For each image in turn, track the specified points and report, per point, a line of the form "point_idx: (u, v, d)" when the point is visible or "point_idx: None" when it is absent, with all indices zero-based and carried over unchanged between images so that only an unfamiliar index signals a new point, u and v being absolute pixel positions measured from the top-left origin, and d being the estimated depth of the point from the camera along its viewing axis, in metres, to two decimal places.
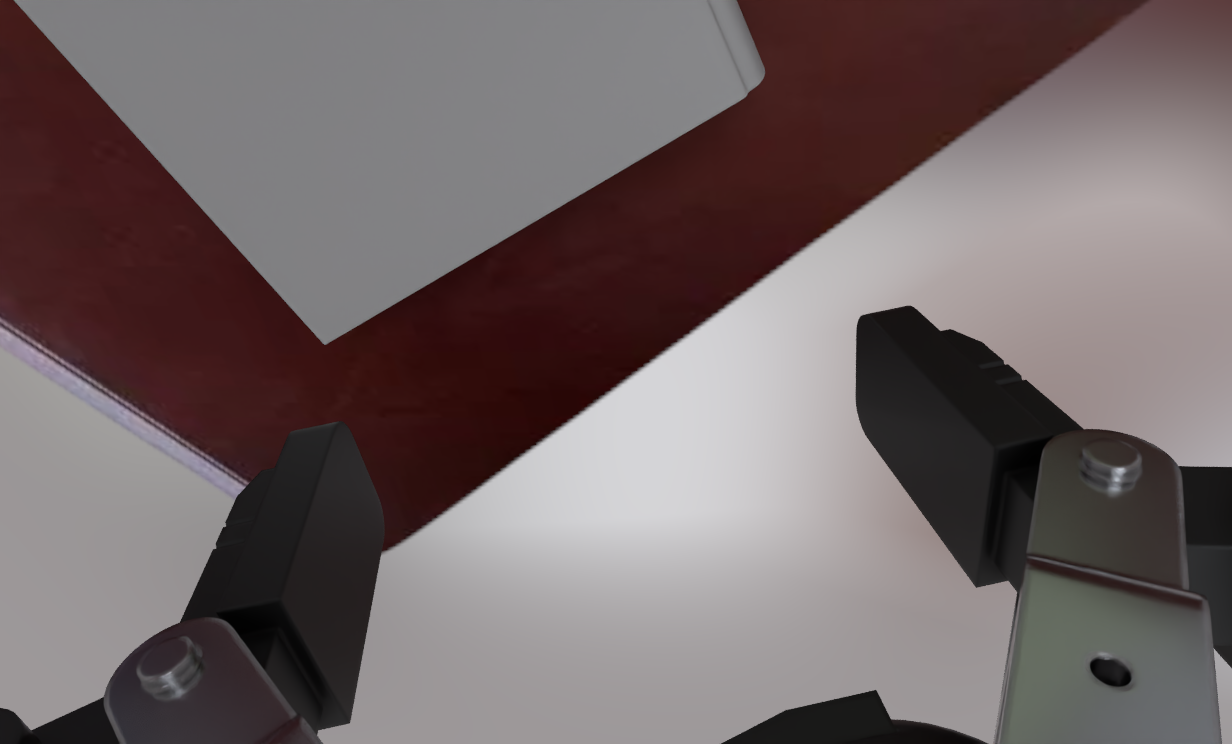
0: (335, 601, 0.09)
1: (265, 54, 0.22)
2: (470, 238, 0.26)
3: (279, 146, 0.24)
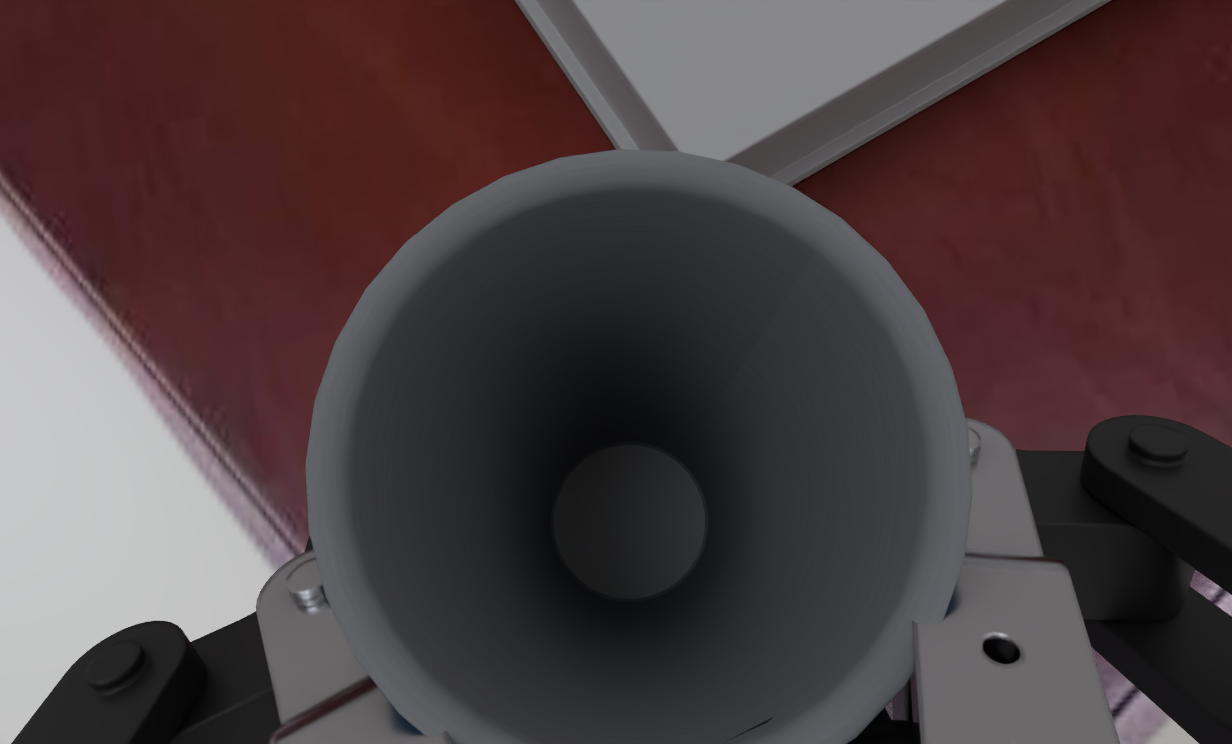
0: None
1: None
2: None
3: None
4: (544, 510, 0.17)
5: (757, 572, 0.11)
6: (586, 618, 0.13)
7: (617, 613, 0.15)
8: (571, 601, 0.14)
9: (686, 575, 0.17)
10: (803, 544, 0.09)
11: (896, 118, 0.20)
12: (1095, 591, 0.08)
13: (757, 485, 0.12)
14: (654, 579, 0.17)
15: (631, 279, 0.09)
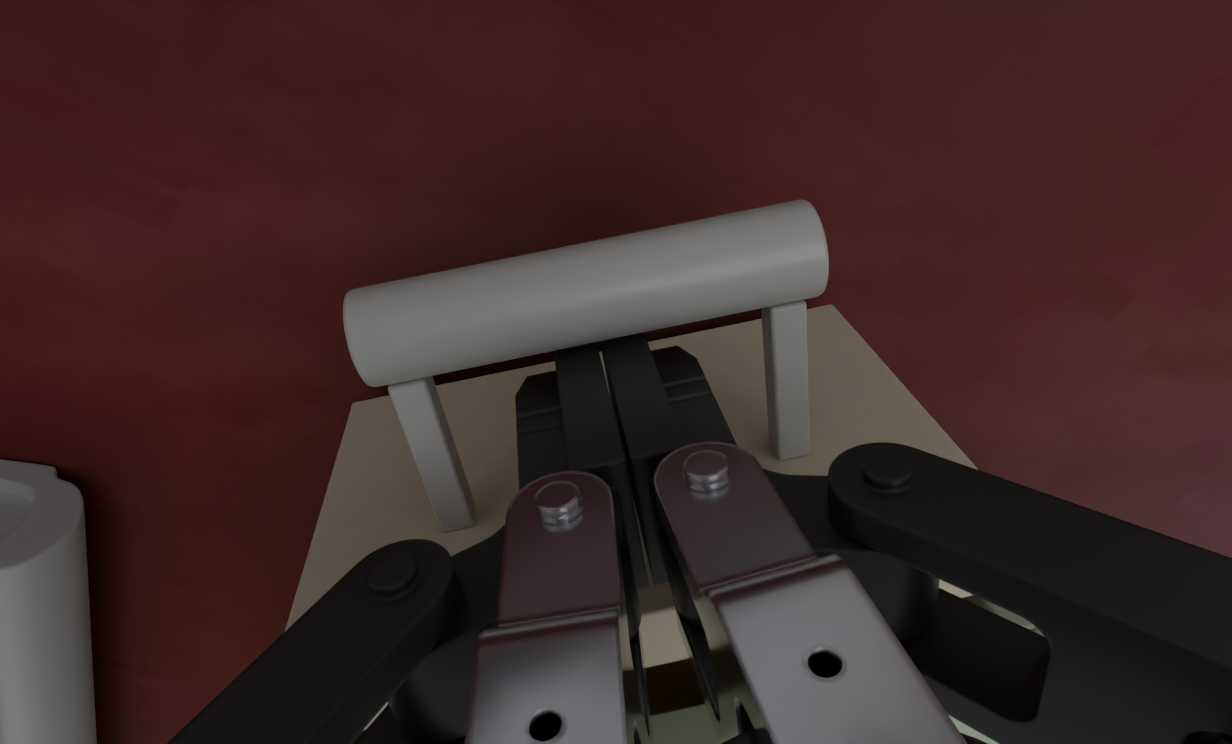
0: None
1: None
2: None
3: None
4: None
5: None
6: None
7: None
8: None
9: None
10: None
11: None
12: None
13: None
14: None
15: None
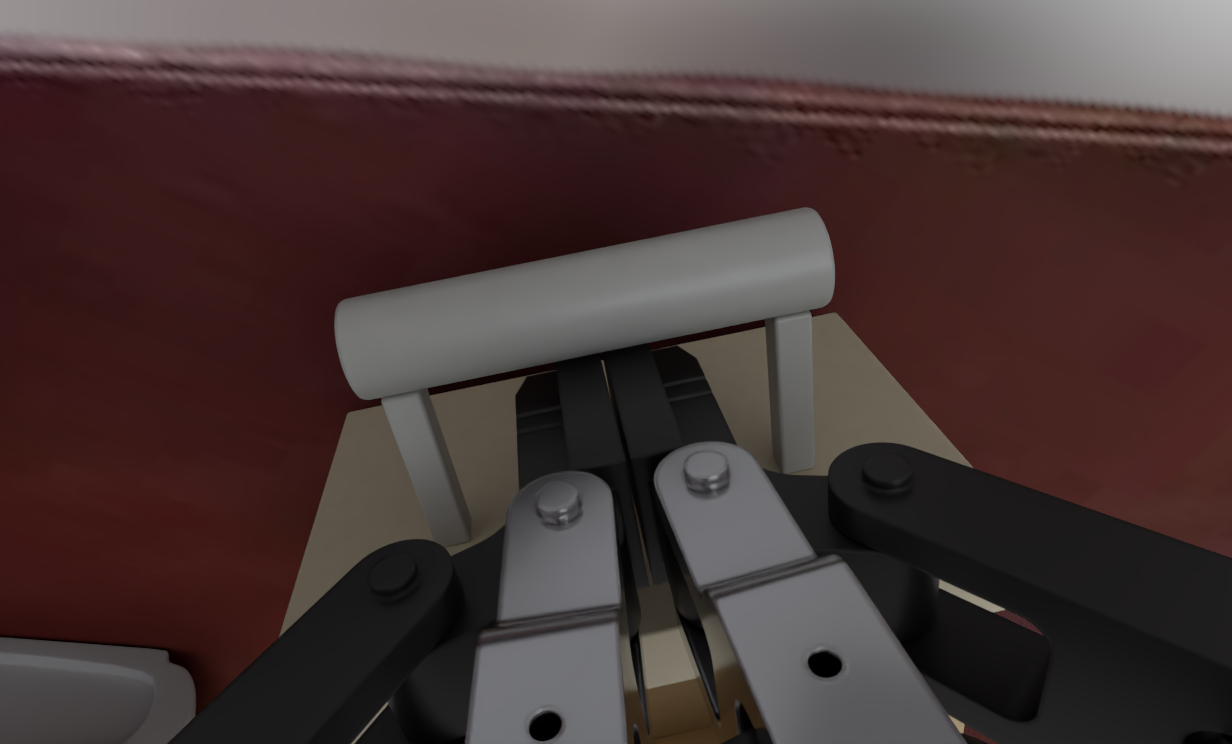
0: None
1: None
2: None
3: None
4: None
5: None
6: None
7: None
8: None
9: None
10: None
11: None
12: None
13: None
14: None
15: None
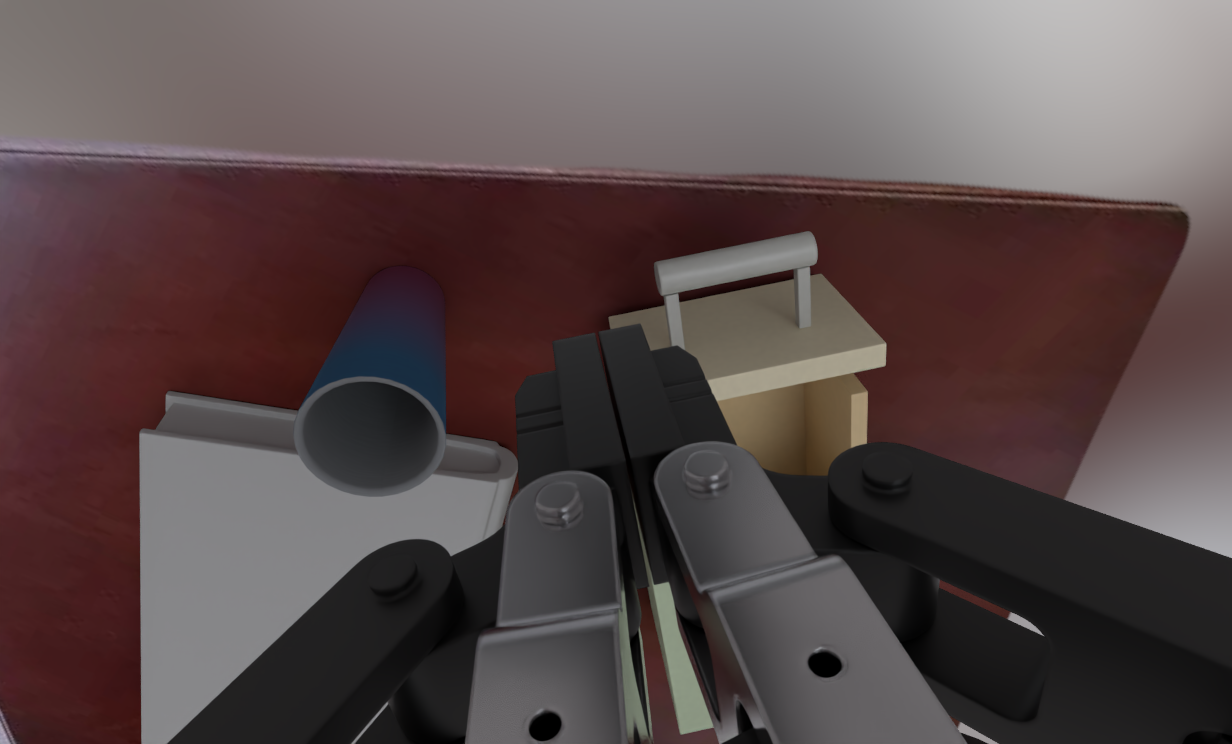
0: None
1: (232, 662, 0.44)
2: None
3: (204, 686, 0.45)
4: None
5: None
6: None
7: None
8: None
9: None
10: (335, 411, 0.31)
11: None
12: None
13: (366, 389, 0.34)
14: None
15: (424, 439, 0.31)
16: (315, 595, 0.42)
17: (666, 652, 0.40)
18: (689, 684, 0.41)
